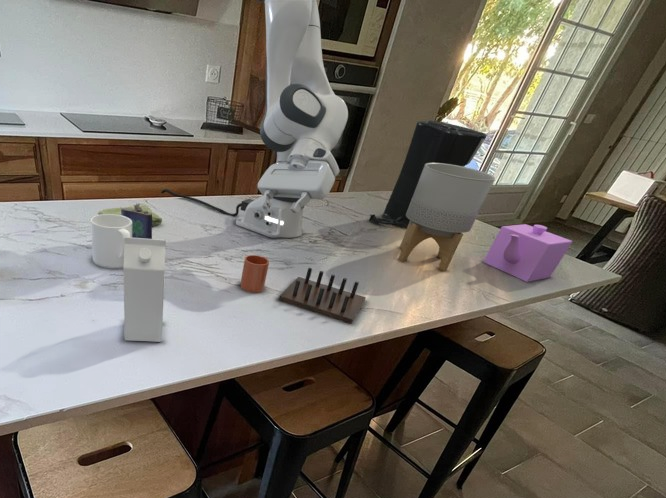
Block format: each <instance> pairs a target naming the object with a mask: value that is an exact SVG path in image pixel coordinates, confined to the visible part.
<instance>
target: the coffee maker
mask: <svg viewBox="0 0 666 498" xmlns="http://www.w3.org/2000/svg"><path fill="white" fill-rule="evenodd" d="M486 138H487V134H486V133H484V132H482V131H478V130H476V129H472V128H468V127H465V126H460V125H456V124H452V123H447V122H442V121H437V120H428V119H427V120H426V121H424V120H422V121H421V120H419V121H417V123H416V125H415V128H414V130H413V134H412V137H411V140H410V143H409V147H408V150H407V153H406V155H405V158H404V162H403V164H402V167H401V170H400V172H399V175H398V178H397V180H396V182H395V185H394V187H393V190H392V192H391V194H390V196H389V199H388V201H387V204H386V205H385V208H384V211H383V214H382V215H381V217H377V216H376V214H371V213H369V214H368V215H369V216H370V217H369V219H368V221H369V222H374V223H376V224H380V225H384V226H387V225H388V226H397V227H400V228H403V229H407V227H408V224H409V222H410V220H409V219H408V218H407V217H406V213H407V210H408V208H409V205H410V202H411V200H412V197H413V194H414V192H415V189H416V187H417V184H418V181H419V179H420V176H421V173H422V171H423V168H424V166H425V164H426V163H444V164H451V165H457V166H462V167H466V166H467V165H470V163H471V162H472V161H473V159H474V158H475V156H476V155H477V153H478V151H479V150H480V148H481V147H482V145H483V144H484V142H485V140H486Z"/></svg>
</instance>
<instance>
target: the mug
mask: <svg viewBox="0 0 666 498" xmlns="http://www.w3.org/2000/svg"><path fill="white" fill-rule="evenodd" d="M89 221H90V234H91V235H90V237H91V252H92V253H91V254H92V262H93V263H94V264H95V265H96V266H98V267H100V268H104V269H109V270H110V269H111V270H115V269H116V270H117V269H123V265H124V237H131V238H132V220H131V219H130V218H128V217H125V216H122V215H116V214H101V215H99V214H96V215H94V216H92V217H91V218H90V220H89Z"/></svg>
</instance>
